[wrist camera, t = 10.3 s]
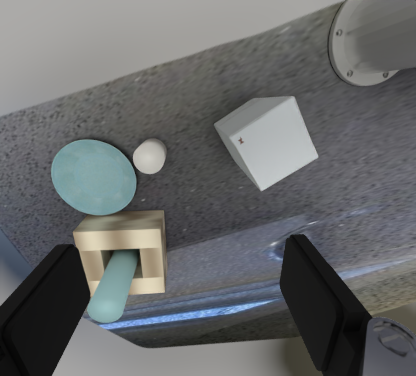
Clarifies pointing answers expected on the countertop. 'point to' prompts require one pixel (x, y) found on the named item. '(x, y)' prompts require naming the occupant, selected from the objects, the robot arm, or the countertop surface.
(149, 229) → the birch hole block
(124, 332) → the countertop surface
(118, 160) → the saucer
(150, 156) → the short off-white stub
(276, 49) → the countertop surface
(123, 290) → the teal dowel
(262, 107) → the supplement box
